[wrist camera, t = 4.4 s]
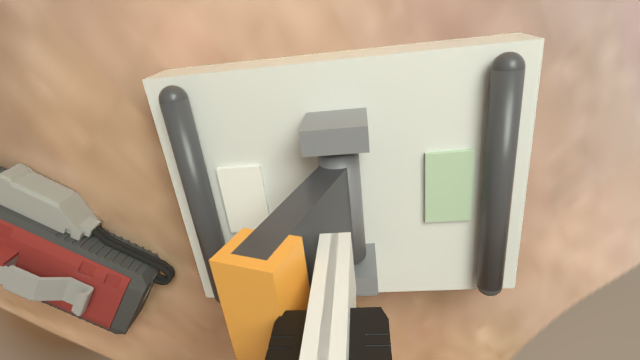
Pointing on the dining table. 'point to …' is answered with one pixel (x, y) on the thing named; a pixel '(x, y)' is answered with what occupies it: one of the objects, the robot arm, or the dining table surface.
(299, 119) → the panel
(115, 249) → the walkie-talkie
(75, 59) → the dining table surface
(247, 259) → the lever
